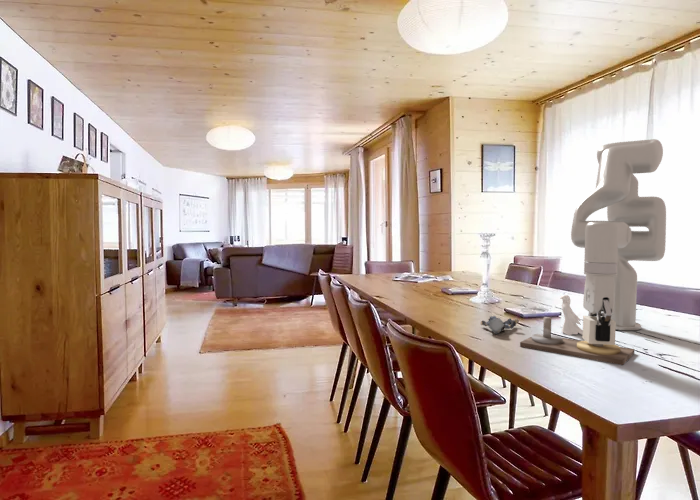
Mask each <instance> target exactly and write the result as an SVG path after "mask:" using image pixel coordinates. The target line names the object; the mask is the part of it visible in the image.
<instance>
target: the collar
mask: <svg viewBox="0 0 700 500" xmlns="http://www.w3.org/2000/svg"><path fill="white" fill-rule="evenodd" d="M582 317H583V318H582V330H583V335H582V339H583V340H584V341H587V342H588V343H589V344H607V345H616V329H615V328H616V321H614V320H612V319H611V320H610V322H611V326H610V341H609V342H607V341H597V340H596V339H595V337H596V325H597V316H588V315H583V316H582ZM600 318H602V316H601V317H600Z"/></svg>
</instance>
